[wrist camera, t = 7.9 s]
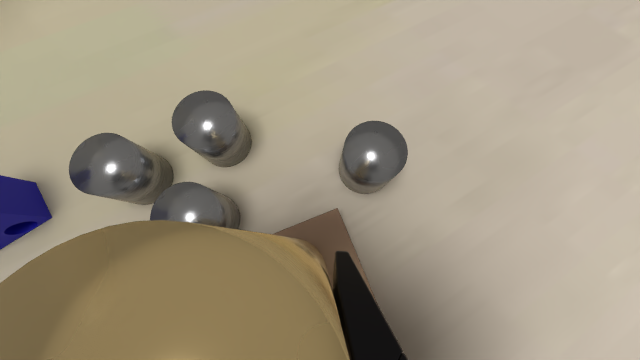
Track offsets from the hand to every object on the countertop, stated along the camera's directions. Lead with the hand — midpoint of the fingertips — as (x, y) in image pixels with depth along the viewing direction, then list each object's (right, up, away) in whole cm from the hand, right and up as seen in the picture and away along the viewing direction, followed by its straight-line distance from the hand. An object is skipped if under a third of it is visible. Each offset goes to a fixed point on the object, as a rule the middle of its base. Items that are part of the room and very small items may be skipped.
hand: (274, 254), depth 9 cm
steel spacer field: (-3, +3, +10) cm, 11 cm away
